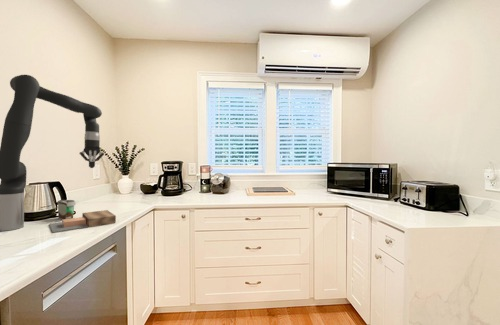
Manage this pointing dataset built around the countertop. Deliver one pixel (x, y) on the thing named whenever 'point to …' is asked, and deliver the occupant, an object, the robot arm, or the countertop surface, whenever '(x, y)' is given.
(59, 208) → the food container
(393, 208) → the countertop surface
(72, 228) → the mat
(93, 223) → the board
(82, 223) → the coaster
